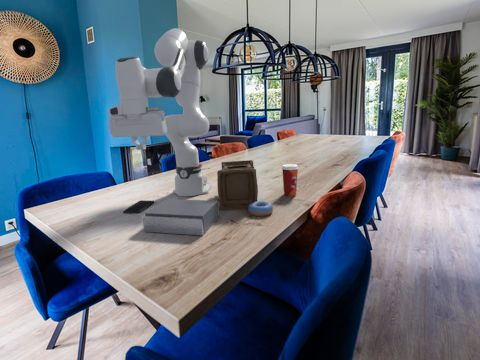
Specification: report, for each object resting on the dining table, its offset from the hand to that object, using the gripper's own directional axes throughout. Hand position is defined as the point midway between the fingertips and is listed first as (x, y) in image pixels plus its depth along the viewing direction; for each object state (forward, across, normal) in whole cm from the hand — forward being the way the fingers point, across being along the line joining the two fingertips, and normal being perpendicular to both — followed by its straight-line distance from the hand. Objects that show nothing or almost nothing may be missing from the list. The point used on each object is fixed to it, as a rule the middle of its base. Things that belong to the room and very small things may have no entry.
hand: (141, 149), depth 102 cm
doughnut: (+30, -38, -17) cm, 51 cm away
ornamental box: (+30, -24, -36) cm, 53 cm away
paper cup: (+30, -48, -42) cm, 71 cm away
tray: (+29, -12, -1) cm, 31 cm away
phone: (+30, +16, -17) cm, 38 cm away
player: (+29, -12, -3) cm, 31 cm away
